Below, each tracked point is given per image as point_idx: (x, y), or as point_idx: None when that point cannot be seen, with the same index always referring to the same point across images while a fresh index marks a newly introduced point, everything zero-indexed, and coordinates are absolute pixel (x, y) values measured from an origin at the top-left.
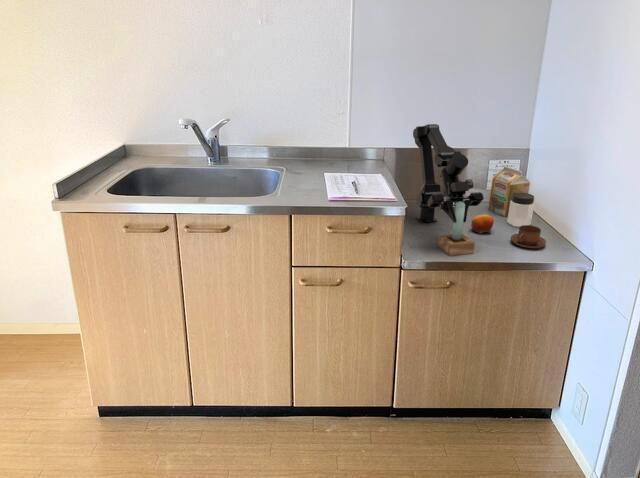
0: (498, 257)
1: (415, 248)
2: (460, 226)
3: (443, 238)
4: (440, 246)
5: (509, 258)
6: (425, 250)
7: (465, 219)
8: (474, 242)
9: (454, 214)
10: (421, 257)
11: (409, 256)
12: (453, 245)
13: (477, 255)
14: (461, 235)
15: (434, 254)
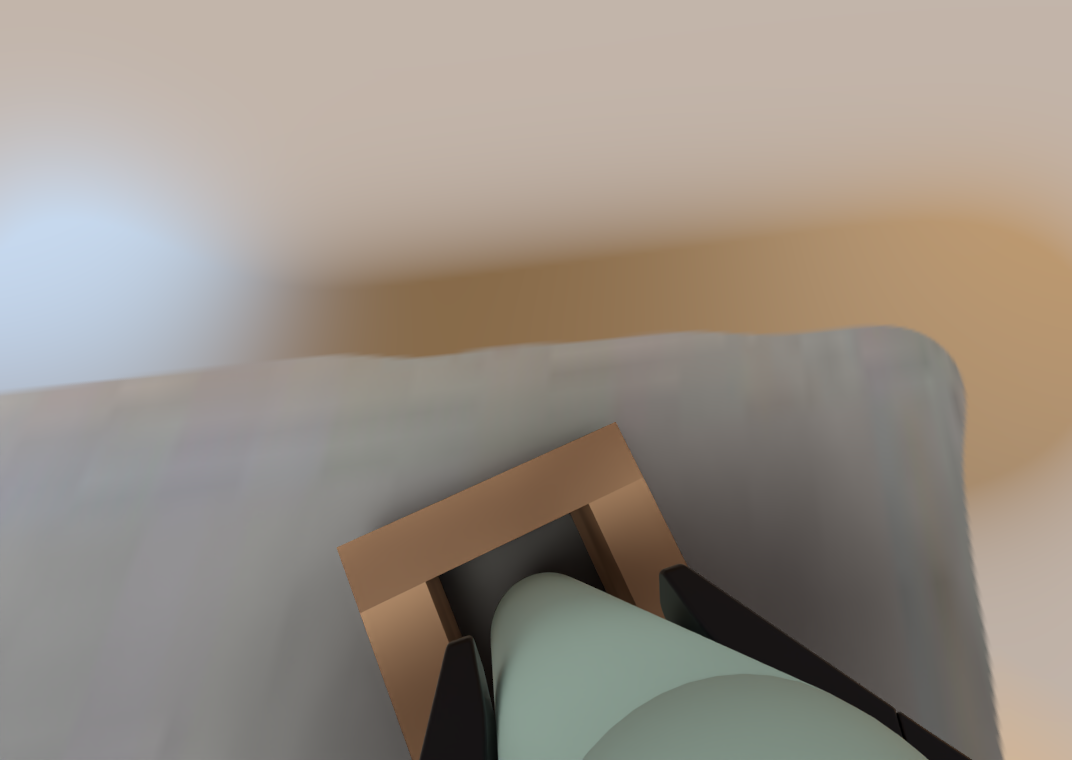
0: (137, 472)
1: (897, 564)
2: (543, 595)
3: None
4: None
5: (29, 464)
6: (807, 531)
7: (458, 666)
8: (338, 547)
9: None
10: (822, 376)
11: (914, 383)
12: (592, 433)
13: (337, 490)
14: (494, 621)
15: (725, 453)
